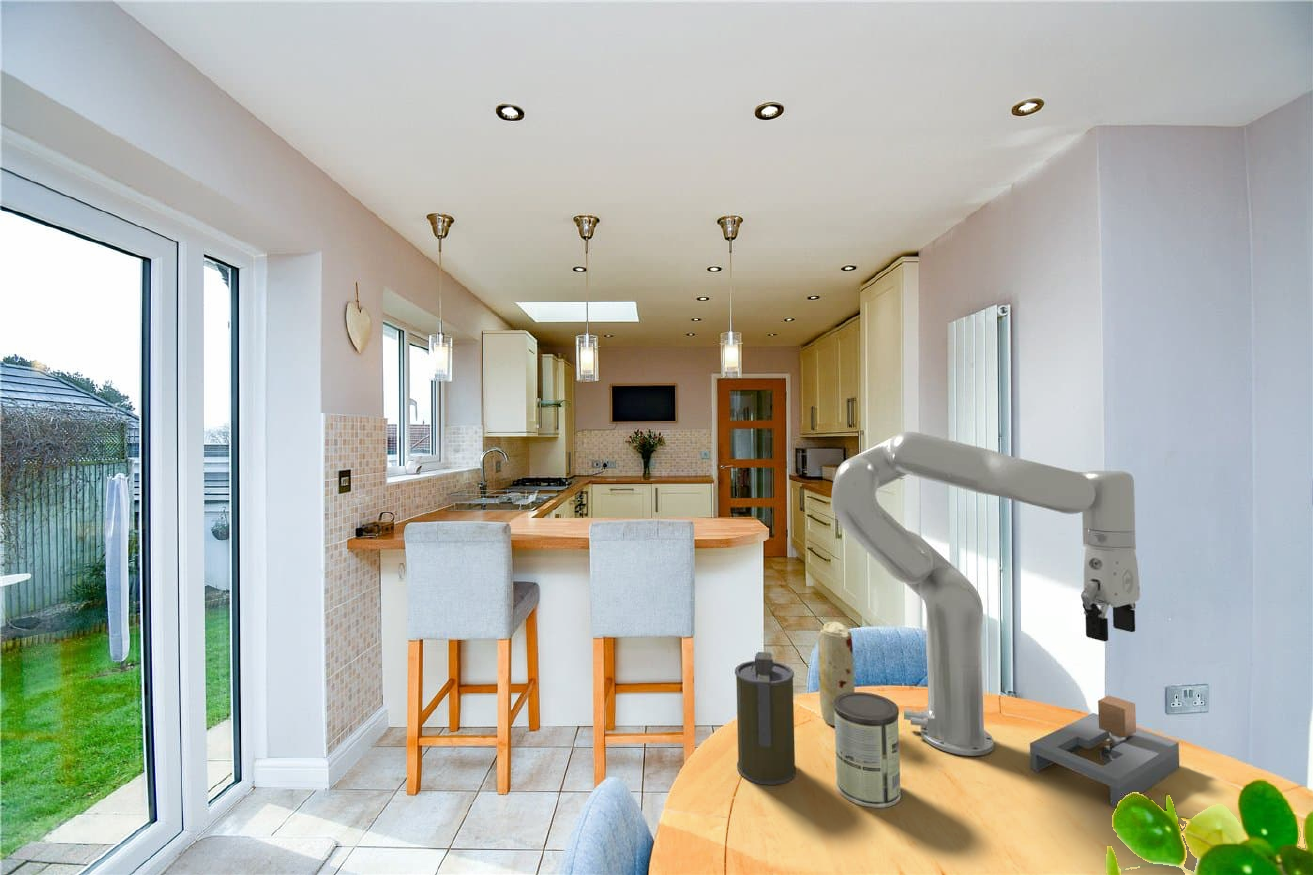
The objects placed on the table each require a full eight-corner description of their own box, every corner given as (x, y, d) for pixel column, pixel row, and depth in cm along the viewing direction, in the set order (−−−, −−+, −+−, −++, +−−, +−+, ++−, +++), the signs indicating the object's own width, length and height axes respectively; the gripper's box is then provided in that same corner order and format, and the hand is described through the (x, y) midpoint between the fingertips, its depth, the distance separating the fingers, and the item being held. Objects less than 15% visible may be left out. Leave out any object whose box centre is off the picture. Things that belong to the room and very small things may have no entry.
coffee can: (836, 768, 103) (834, 688, 103) (899, 777, 100) (896, 695, 100) (834, 802, 93) (832, 714, 94) (903, 814, 90) (901, 722, 90)
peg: (1128, 772, 100) (1126, 710, 100) (1095, 758, 104) (1093, 700, 104) (1141, 763, 102) (1139, 703, 103) (1108, 751, 107) (1106, 693, 107)
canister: (738, 751, 110) (736, 644, 110) (795, 755, 107) (792, 647, 108) (734, 784, 99) (732, 666, 99) (797, 790, 97) (794, 669, 97)
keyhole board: (1118, 808, 90) (1117, 779, 90) (1030, 769, 101) (1029, 743, 102) (1179, 768, 101) (1178, 741, 101) (1093, 736, 112) (1093, 712, 112)
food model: (863, 731, 116) (860, 631, 116) (831, 733, 115) (828, 632, 116) (843, 709, 126) (841, 617, 126) (813, 711, 125) (811, 618, 125)
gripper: (1108, 547, 97) (1111, 649, 97) (1156, 537, 105) (1158, 632, 105) (1059, 540, 104) (1062, 636, 103) (1108, 532, 112) (1110, 621, 112)
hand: (1110, 634), depth 104 cm, fingers open, 9 cm apart
